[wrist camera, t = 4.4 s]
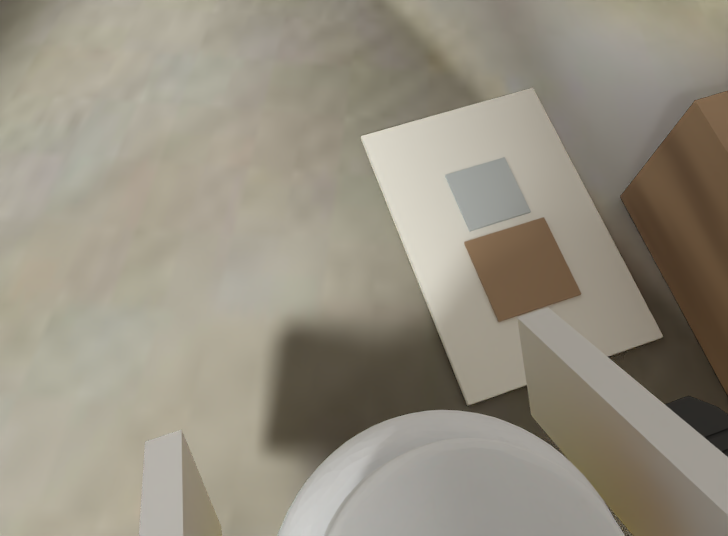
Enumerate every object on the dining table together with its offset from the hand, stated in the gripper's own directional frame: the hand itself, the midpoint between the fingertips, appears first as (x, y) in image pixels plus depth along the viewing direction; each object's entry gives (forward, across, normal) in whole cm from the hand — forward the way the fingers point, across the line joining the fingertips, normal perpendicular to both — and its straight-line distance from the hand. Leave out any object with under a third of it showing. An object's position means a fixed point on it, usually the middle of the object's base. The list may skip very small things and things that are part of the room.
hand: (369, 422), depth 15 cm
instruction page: (+6, +6, +1) cm, 8 cm away
